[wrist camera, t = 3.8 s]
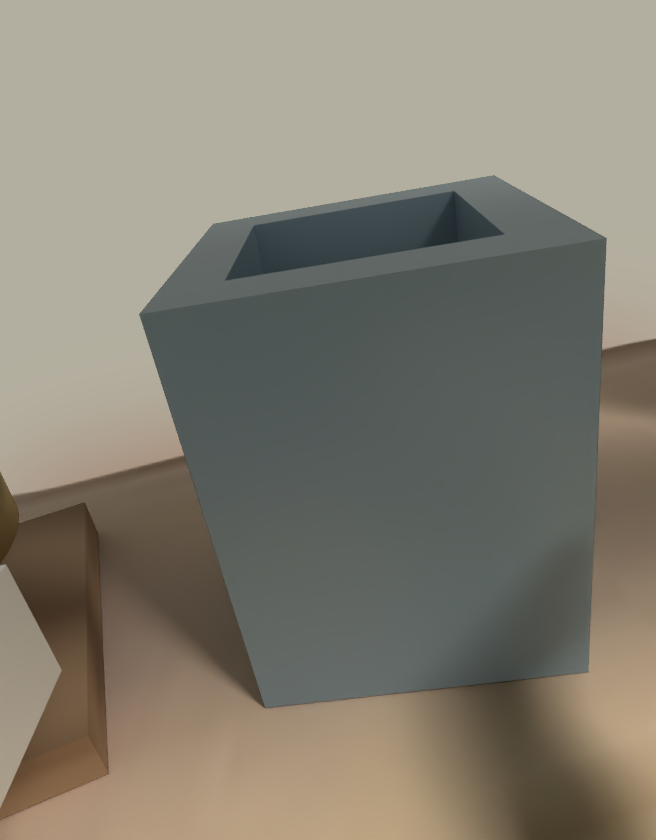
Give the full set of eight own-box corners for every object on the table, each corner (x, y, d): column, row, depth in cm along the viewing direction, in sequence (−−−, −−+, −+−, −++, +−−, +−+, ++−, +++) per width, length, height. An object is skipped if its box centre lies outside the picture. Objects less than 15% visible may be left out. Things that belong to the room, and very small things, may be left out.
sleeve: (588, 672, 16) (606, 237, 11) (264, 708, 17) (139, 314, 12) (505, 485, 23) (494, 175, 18) (284, 515, 24) (213, 223, 19)
